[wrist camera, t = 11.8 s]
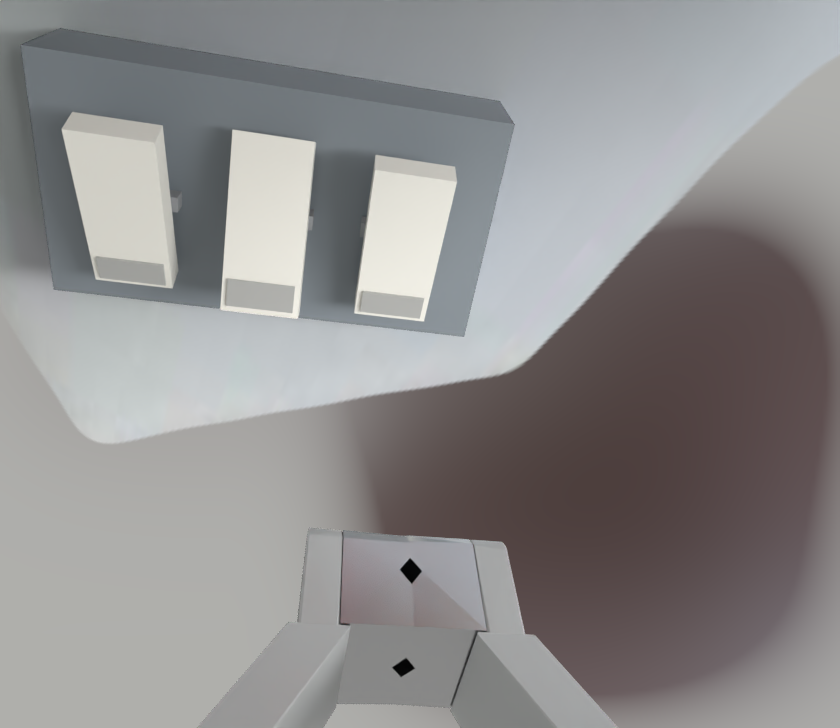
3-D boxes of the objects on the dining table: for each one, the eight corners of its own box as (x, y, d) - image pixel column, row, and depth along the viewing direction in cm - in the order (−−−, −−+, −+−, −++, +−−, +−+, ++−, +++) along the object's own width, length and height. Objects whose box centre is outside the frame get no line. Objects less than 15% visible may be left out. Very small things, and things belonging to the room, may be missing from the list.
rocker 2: (316, 142, 36) (315, 141, 34) (299, 313, 38) (297, 319, 36) (237, 131, 35) (232, 129, 33) (224, 304, 37) (219, 310, 36)
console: (499, 101, 40) (517, 129, 35) (455, 301, 47) (464, 348, 42) (60, 28, 36) (11, 48, 32) (84, 256, 44) (47, 301, 39)
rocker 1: (162, 125, 32) (154, 144, 31) (178, 270, 39) (171, 290, 38) (72, 111, 32) (60, 130, 31) (103, 261, 38) (95, 281, 37)
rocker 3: (455, 166, 34) (457, 183, 33) (423, 305, 41) (423, 323, 39) (375, 154, 34) (374, 171, 33) (355, 296, 40) (354, 315, 39)
